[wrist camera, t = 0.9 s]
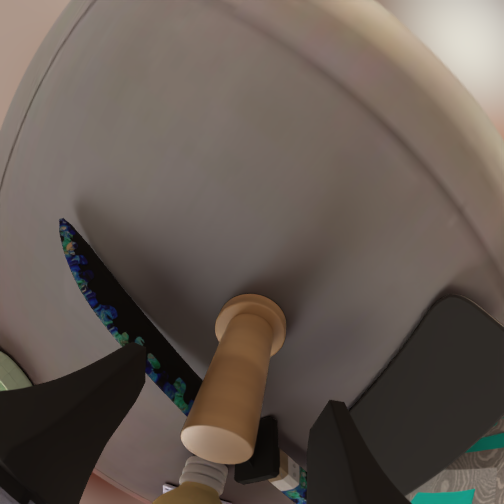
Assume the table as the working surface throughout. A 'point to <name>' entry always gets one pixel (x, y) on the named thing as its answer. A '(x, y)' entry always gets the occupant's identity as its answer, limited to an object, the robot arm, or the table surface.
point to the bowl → (11, 374)
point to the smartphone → (435, 394)
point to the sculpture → (469, 475)
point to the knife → (171, 363)
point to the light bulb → (197, 483)
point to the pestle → (235, 381)
